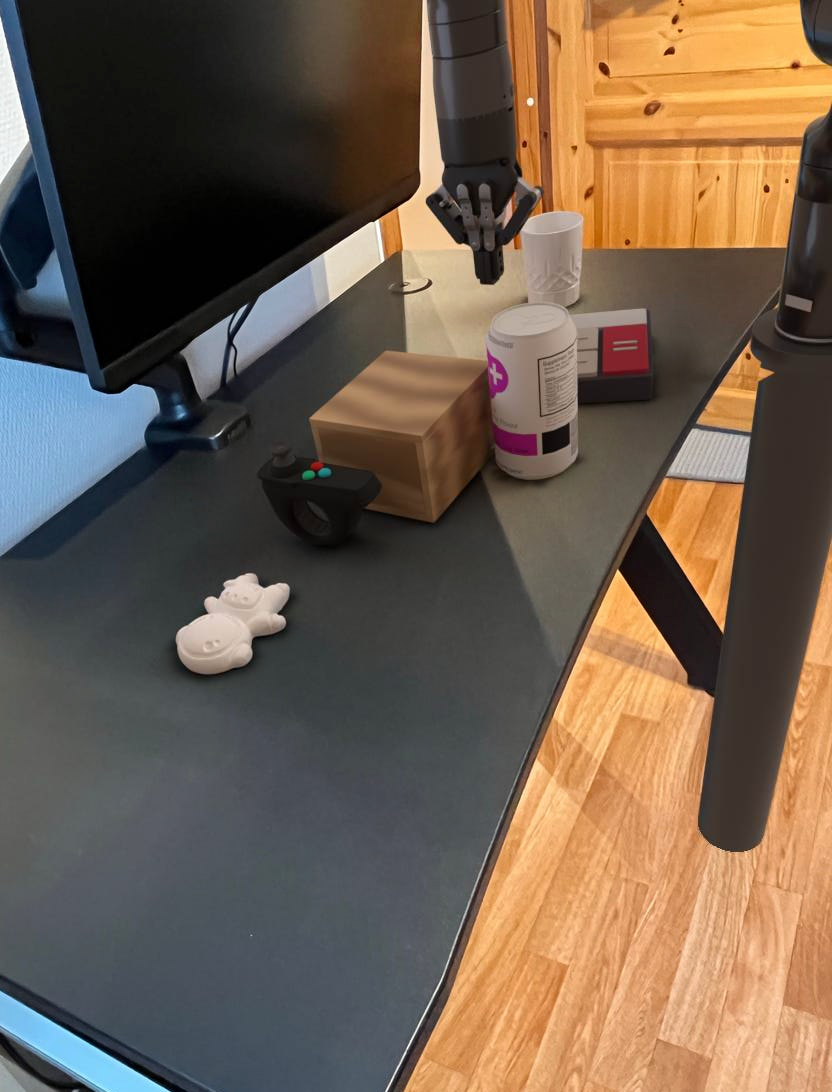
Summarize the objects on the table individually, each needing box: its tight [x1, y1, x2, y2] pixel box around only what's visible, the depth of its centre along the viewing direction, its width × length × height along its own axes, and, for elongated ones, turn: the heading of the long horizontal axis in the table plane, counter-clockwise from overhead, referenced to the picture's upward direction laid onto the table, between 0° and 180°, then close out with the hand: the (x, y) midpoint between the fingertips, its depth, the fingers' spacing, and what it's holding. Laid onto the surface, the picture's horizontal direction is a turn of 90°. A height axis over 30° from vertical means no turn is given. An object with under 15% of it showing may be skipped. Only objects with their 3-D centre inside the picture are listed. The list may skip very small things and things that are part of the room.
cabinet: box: [308, 350, 495, 524], centre depth 88 cm, size 15×13×10 cm
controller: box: [256, 441, 382, 547], centre depth 82 cm, size 4×12×10 cm, turn 59°
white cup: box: [519, 210, 584, 308], centre depth 114 cm, size 8×8×10 cm
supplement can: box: [485, 302, 579, 481], centre depth 84 cm, size 8×8×15 cm
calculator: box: [569, 307, 655, 405], centre depth 99 cm, size 11×4×15 cm
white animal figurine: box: [175, 572, 291, 675], centre depth 77 cm, size 9×12×3 cm
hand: (490, 281), depth 95 cm, fingers closed
